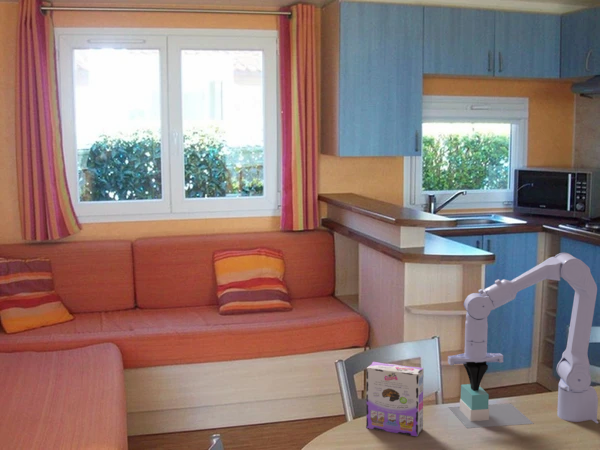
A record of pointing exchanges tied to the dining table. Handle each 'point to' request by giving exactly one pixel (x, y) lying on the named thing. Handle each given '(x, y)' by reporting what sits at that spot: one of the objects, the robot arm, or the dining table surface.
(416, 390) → the candy box
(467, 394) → the teal brick
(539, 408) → the dining table surface
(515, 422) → the baseplate
